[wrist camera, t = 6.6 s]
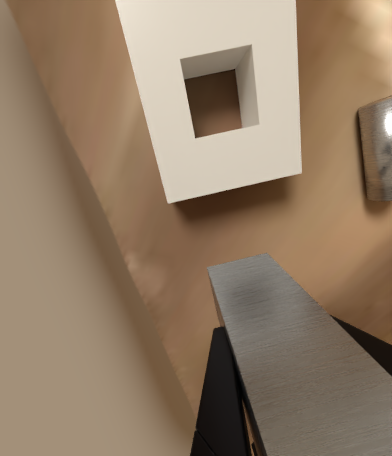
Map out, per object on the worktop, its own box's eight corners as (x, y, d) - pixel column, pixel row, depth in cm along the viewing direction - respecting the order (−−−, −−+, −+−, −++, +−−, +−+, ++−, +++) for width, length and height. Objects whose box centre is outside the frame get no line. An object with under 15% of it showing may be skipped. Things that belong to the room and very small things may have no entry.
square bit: (271, 302, 11) (487, 612, 3) (217, 316, 11) (318, 667, 3) (266, 252, 10) (554, 538, 2) (206, 267, 10) (317, 610, 2)
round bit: (402, 201, 17) (360, 200, 20) (419, 187, 18) (377, 187, 21) (397, 97, 14) (350, 112, 17) (417, 86, 15) (369, 102, 18)
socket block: (278, 170, 18) (301, 173, 15) (168, 195, 18) (167, 203, 15) (266, -3, 14) (293, -52, 11) (125, 24, 14) (110, -18, 11)
